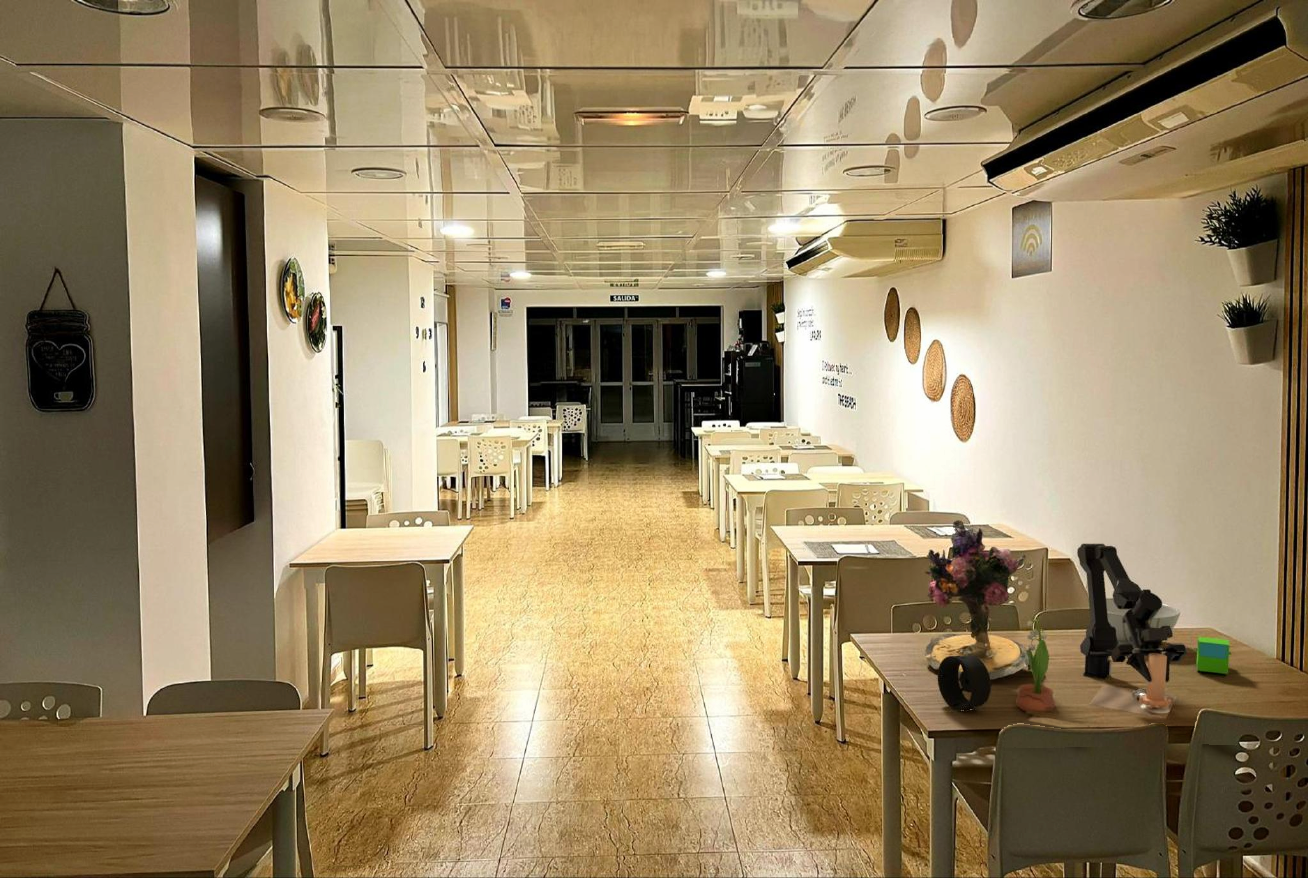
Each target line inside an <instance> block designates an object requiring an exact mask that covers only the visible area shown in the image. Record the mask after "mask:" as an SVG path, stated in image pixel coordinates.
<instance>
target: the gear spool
mask: <svg viewBox="0 0 1308 878" xmlns="http://www.w3.org/2000/svg"><path fill="white" fill-rule="evenodd" d="M1147 658H1148V661H1147V668H1148V670H1149V673H1150V676H1151V680H1152V681H1151V682H1148V681H1147V680H1146V690H1147V694H1146V695H1145V694H1143V695H1142V697H1140V699H1139V701H1140V702H1143V703H1144V705H1149V706H1154V707H1157V708H1159V707H1166V708H1167V707H1169V705H1171V700H1169V699H1167V698H1166V697H1165V695H1166V663H1167V656H1166V655H1164V654H1159V653H1150V654H1149V656H1147Z"/></svg>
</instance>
